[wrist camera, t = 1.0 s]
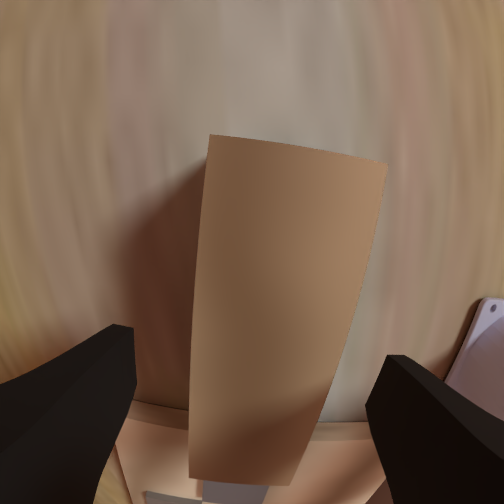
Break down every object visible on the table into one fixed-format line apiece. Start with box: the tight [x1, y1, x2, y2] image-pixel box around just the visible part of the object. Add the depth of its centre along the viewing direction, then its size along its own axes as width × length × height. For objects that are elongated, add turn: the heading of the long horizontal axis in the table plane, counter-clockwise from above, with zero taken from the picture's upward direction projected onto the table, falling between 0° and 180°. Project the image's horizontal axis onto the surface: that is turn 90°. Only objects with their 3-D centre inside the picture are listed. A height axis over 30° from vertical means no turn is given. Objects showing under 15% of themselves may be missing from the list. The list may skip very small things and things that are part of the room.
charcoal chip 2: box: [202, 480, 269, 504], centre depth 16 cm, size 4×4×1 cm
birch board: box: [115, 400, 386, 504], centre depth 18 cm, size 18×16×2 cm
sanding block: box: [189, 134, 388, 486], centre depth 11 cm, size 4×12×6 cm, turn 172°
